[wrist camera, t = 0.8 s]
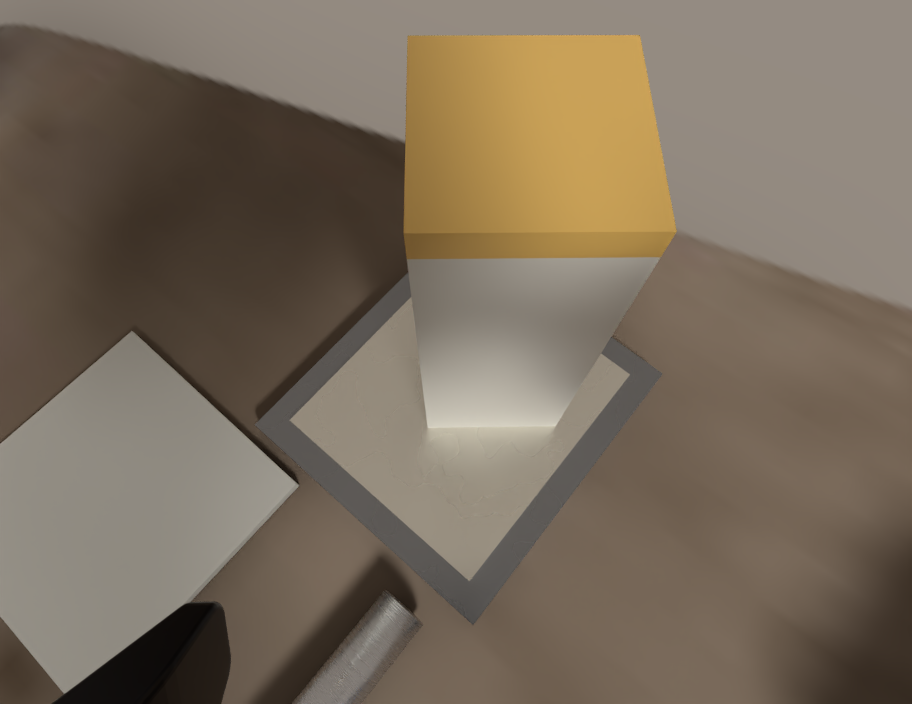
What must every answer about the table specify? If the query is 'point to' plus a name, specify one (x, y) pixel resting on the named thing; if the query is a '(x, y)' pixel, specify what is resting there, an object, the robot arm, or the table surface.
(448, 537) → the case base
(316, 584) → the table surface
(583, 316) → the block
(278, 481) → the case lid
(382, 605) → the rod
